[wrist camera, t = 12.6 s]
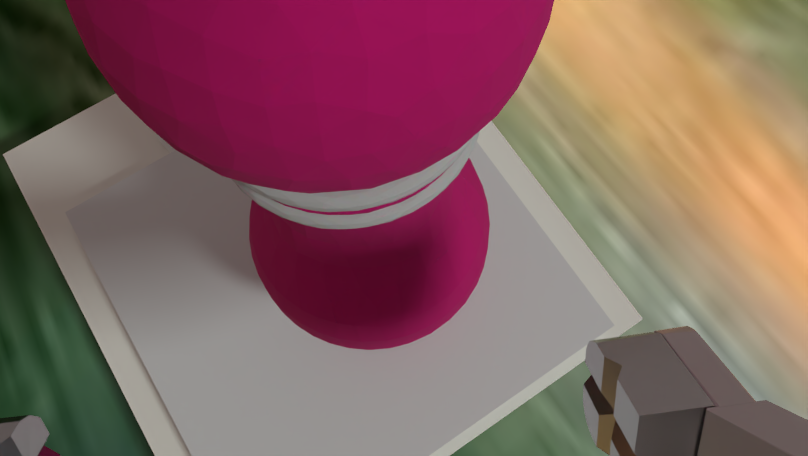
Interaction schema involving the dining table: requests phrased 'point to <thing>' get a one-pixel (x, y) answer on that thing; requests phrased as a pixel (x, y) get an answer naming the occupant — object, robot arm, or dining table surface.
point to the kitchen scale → (272, 330)
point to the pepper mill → (333, 137)
